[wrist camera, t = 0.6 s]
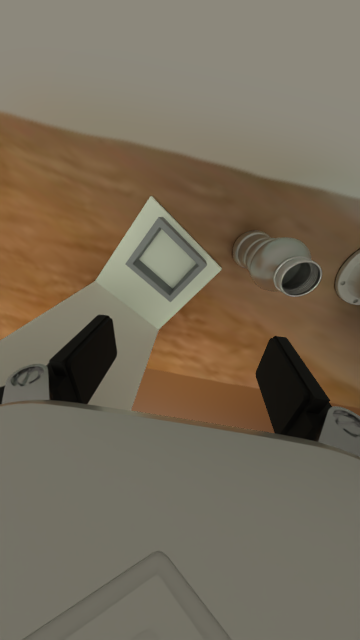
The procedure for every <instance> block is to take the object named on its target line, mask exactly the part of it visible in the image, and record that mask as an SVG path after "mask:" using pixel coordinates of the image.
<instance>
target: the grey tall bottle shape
mask: <svg viewBox="0 0 360 640" xmlns="http://www.w3.org/2000/svg"><path fill="white" fill-rule="evenodd" d="M233 258H234V260H235V262H236V263H237V264H238V265H239V266H241V267H243V268H246V269H248V270H249V272H250V275H251V277H252V279H253V281H254V282H255V284H256V285H257V286H259V287H260V288H262V289H264V290H268V291H276V292H277V291H281V292H283V293H284V294H286V295H288V296H291V297H298V296H303V295H305V294H308V293H309V292H311V291H312V290H314V289H315V288H316V287H317V285H318V284H319V283H320V281H321V278H322V269H321V267H320V266H319V265H318V264H317V263H316V262H314V261H312V260H311V254H310V252H309V250H308V248H307V247H306V245H305V244H304V243H303V242H301V241H299V240H298V239H294V238H284V237H282V238H270V236H269V235H267V234H266V233H265V232H263V231H259V230H253V231H249V232H246V233H244V234H243V235H241V236H240V237H239V238H238V239H237V240H236V242H235V244H234V246H233Z"/></svg>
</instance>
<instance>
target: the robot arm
mask: <svg viewBox="0 0 360 640" xmlns="http://www.w3.org/2000/svg"><path fill="white" fill-rule="evenodd" d="M335 289H336V293H337V294H338V296H339V297H340V298H341V299H342V300H344V301H346V302H348V303H350V304H354V305H360V250H358V251H357V252H355V253H354V254H353V255H352V256H351V257H350V258H349V259H348V260H347V261H346V262H345V263H344V264H343V266H342V267H341V269H340V270H339V272H338V274H337V277H336V281H335ZM116 357H117V347H116V340H115V333H114V326H113V320H112V318H110V317H109V316H108V315H97V316H96V317H95V318H94V319H93V320H92V321H91V322H90V323H89V324H88V325H86V326H85V327H84V328H83V329H82V330H81V331H80V332H79V333H78V334H77V335H76V336H75V337H74V338H72V339H71V340H70V341H69V342H68V343H67V344H66V345H65V346H64V347H63V348H62V349H61V350H60V351H58V352H57V353H56V354H55V355H54V356H53V357H52V358H51V359H50V360H49V363H48V364H47V365H46V366H45V365H43V364H32V365H28V366H25V367H22V368H20V369H18V370H16V371H15V372H14V373H12V374H11V375H10V376H9V377H8V379H7V381H6V383H5V385H4V386H2V387H0V640H360V417H359V416H358V415H356V414H355V413H353V412H352V411H349V410H347V409H345V408H342V407H332V406H331V405H330V403H329V401H330V400H329V398H328V397H327V395H326V394H325V392H324V391H323V390H322V388H321V387H320V385H319V384H318V382H317V381H316V379H315V378H314V377H313V375H312V374H311V372H310V371H309V369H308V368H307V366H306V365H305V364H304V362H303V361H302V359H301V358H300V356H299V355H298V354H297V352H296V351H295V349H294V348H293V346H292V345H291V343H290V342H289V341H288V339H287V338H285V337H278V336H274V337H273V338H271V339H270V340H269V342H268V344H267V347H266V349H265V352H264V354H263V356H262V359H261V361H260V364H259V366H258V368H257V371H256V378H257V381H258V384H259V387H260V390H261V393H262V396H263V399H264V402H265V405H266V408H267V411H268V414H269V417H270V420H271V423H272V426H273V429H274V432H275V433H269V432H263V431H257V430H251V429H244V428H239V427H232V426H226V425H220V424H214V423H208V422H201V421H195V420H188V419H182V418H175V417H168V416H162V415H156V414H150V413H143V412H136V411H130V410H123V409H116V408H110V407H103V406H96V405H89V404H88V402H89V401H90V399H91V398H92V396H93V394H94V393H95V391H96V389H97V388H98V386H99V385H100V383H101V381H102V380H103V378H104V377H105V375H106V373H107V372H108V370H109V368H110V367H111V365H112V364H113V362H114V360H115V359H116Z"/></svg>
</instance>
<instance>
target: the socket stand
mask: <svg viewBox="0 0 360 640" xmlns="http://www.w3.org/2000/svg"><path fill="white" fill-rule="evenodd" d="M221 270H222V268H221V267H220V266H219V265H218V264H217V262H216V261H215V260H214V259H213V258H212V257H211V256H210V255H209V254H208V253H207V252H206V251H205V250H204V249H203V248H202V247H201V246H200V245H199V244H198V243H197V242H196V241H195V240H194V239H193V238H192V237H191V236H190V235H189V234H188V233H187V232H186V230H185V229H184V228H183V227H182V226H181V225H180V224H179V223H178V222H177V221H176V220H175V219H174V218H173V217H172V216H171V215H170V214H169V213H168V212H167V211H166V210H165V209H164V208H163V207H162V206H161V205H160V204H159V203H158V202H157V201H156V200H155V198H154V197H152V196H150V198H149V200H148V201H147V203H146V204H145V206H144V207H143V209H142V210H141V212H140V213H139V215H138V216H137V218H136V219H135V221H134V222H133V224H132V225H131V227H130V229H129V230H128V232H127V233H126V235H125V236H124V238H123V239H122V241H121V242H120V244H119V245H118V247H117V248H116V250H115V251H114V253H113V255H112V256H111V258H110V259H109V261H108V262H107V264H106V265H105V267H104V268H103V270H102V271H101V273H100V274H99V276H98V277H97V279H96V280H95V281H94V282H93V283H91V284H90V285H88V286H86V287H85V288H83V289H82V290H80V291H78V292H77V293H75V294H74V295H72V296H70V297H69V298H67V299H66V300H64V301H62V302H61V303H59V304H58V305H56V306H55V307H53V308H51V309H50V310H48V311H47V312H45V313H43V314H42V315H40V316H39V317H37V318H35V319H34V320H32V321H31V322H29V323H27V324H26V325H24V326H23V327H21V328H20V329H18V330H16V331H15V332H13V333H12V334H10V335H8V336H7V337H5V338H4V339H2V340H0V387H2V386H4V385H5V383H6V381H7V379H8V377H9V376H10V375H11V374H12V373H14V372H15V371H16V370H18V369H20V368H22V367H25V366H28V365H32V364H43V365H45V366H46V365H47V364H48V363H49V360H50V359H51V358H52V357H53V356H54V355H55V354H56V353H57V352H58V351H60V350H61V349H62V348H63V347H64V346H65V345H66V344H67V343H68V342H69V341H70V340H71V339H72V338H74V337H75V336H76V335H77V334H78V333H79V332H80V331H81V330H82V329H83V328H84V327H85V326H86V325H88V324H89V323H90V322H91V321H92V320H93V319H94V318H95V317H96V316H97V315H108V316H109V317H110V318H112V320H113V326H114V333H115V340H116V347H117V357H116V359H115V360H114V362H113V364H112V365H111V367H110V368H109V370H108V372H107V373H106V375H105V377H104V378H103V380H102V381H101V383H100V385H99V386H98V388H97V389H96V391H95V393H94V394H93V396H92V398H91V399H90V401H89V402H88V404H89V405H96V406H103V407H110V408H116V409H123V410H130V411H131V408H132V405H133V403H134V400H135V397H136V394H137V391H138V388H139V385H140V382H141V379H142V376H143V374H144V371H145V368H146V365H147V362H148V359H149V356H150V353H151V350H152V348H153V345H154V342H155V339H156V336H157V333H158V330H159V329H160V328H161V327H162V326H163V325H164V324H165V323H166V322H167V321H168V320H169V319H170V318H171V317H172V316H173V315H175V314H176V313H177V312H178V311H179V310H180V309H181V308H182V307H183V306H184V305H185V304H186V303H187V302H188V301H189V300H190V299H191V298H192V297H193V296H194V295H195V294H197V293H198V292H199V291H200V290H201V289H202V288H203V287H204V286H205V285H206V284H207V283H208V282H209V281H210V280H211V279H212V278H213V277H214V276H215V275H216V274H217V273H219V272H220V271H221Z"/></svg>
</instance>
